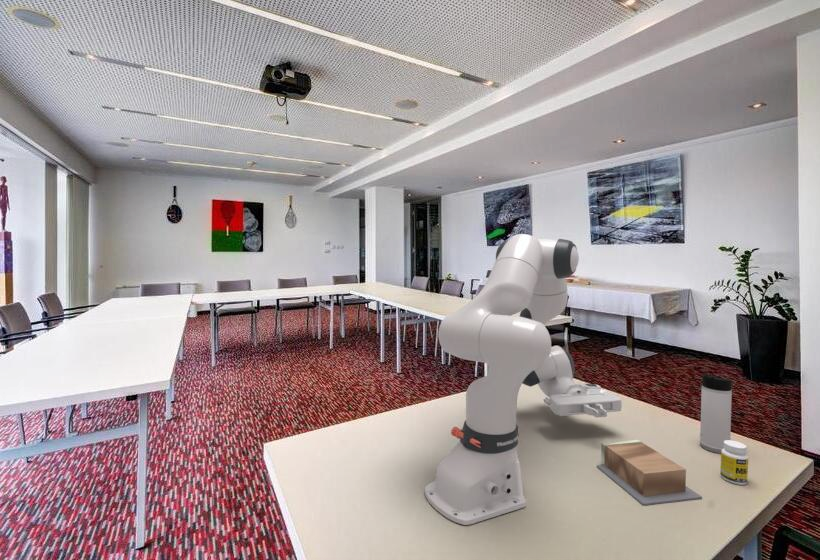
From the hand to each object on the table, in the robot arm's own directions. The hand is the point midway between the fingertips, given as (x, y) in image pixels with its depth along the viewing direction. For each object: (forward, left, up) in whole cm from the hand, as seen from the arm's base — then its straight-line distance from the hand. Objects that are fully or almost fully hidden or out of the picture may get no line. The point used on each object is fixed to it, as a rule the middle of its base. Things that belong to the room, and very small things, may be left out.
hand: (602, 414), depth 101 cm
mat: (-7, -14, -9) cm, 18 cm away
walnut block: (-3, -6, -6) cm, 10 cm away
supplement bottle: (+11, -25, -9) cm, 29 cm away
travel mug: (+25, -17, -9) cm, 32 cm away
